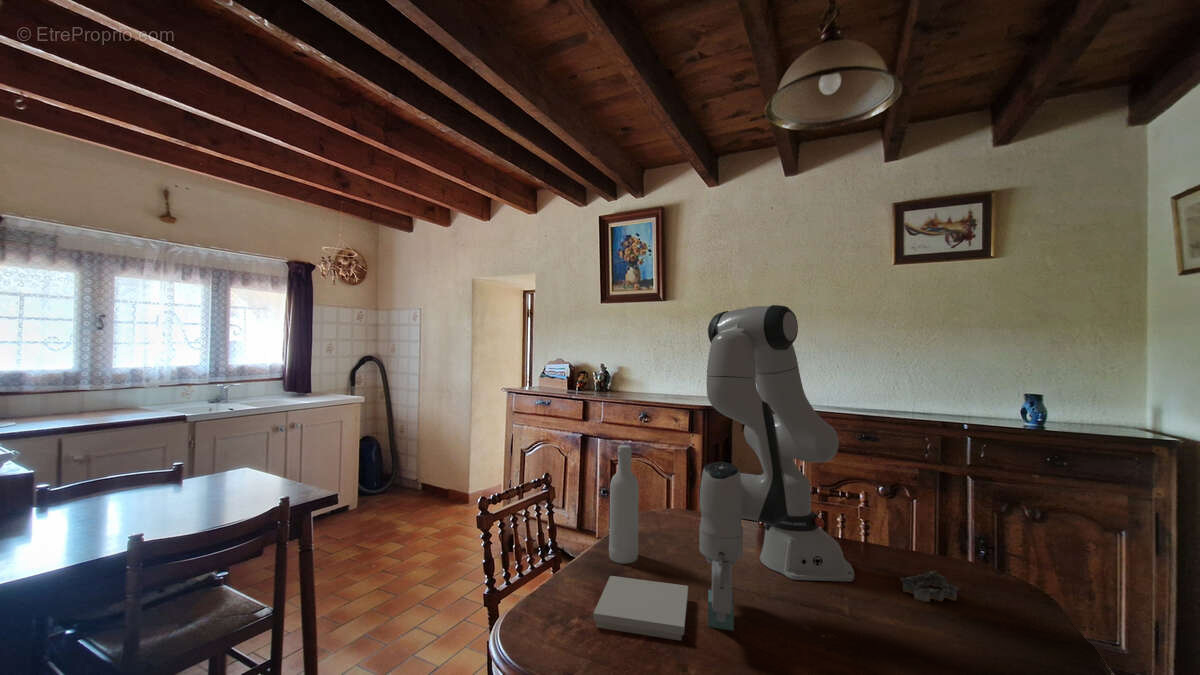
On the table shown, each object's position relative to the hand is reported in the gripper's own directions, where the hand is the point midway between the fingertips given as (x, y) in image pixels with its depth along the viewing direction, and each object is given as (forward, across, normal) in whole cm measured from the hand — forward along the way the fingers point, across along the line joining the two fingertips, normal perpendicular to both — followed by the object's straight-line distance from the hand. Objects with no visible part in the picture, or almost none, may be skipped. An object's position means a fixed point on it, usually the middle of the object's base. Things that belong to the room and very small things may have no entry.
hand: (720, 611), depth 96 cm
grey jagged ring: (+3, +24, -48) cm, 53 cm away
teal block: (+2, 0, 0) cm, 2 cm away
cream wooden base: (+2, -1, +16) cm, 16 cm away
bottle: (+2, +24, +25) cm, 35 cm away
